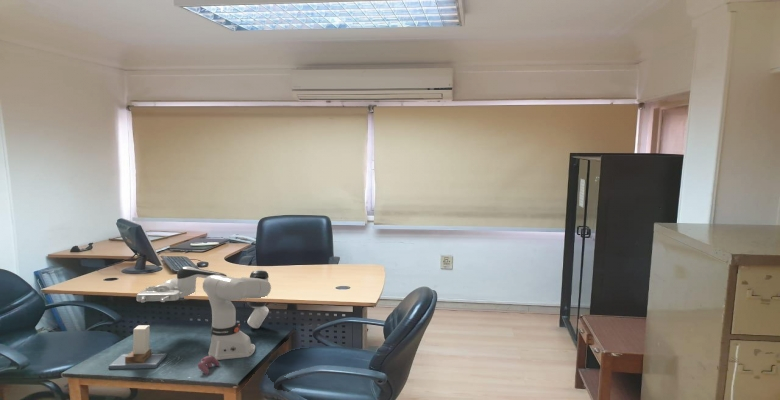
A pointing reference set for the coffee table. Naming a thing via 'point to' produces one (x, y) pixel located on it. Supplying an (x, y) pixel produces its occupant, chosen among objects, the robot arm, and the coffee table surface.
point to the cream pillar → (141, 339)
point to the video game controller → (209, 361)
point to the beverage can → (257, 317)
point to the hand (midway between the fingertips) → (152, 300)
